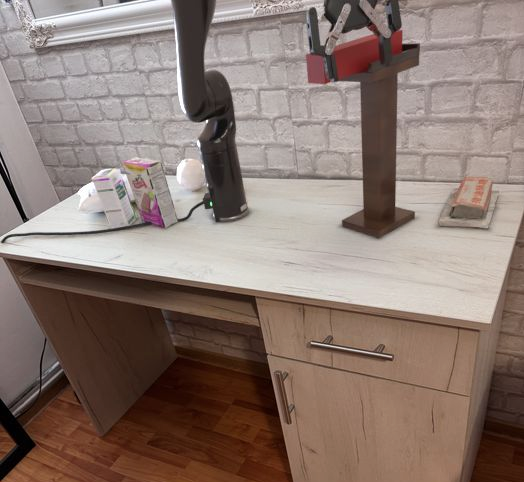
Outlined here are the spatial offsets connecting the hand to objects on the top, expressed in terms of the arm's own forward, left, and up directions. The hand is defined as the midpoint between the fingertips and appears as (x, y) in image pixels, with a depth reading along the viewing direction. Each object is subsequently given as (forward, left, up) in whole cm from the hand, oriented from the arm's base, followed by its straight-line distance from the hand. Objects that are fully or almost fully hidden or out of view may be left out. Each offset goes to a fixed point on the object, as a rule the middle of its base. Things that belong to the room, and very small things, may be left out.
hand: (360, 74), depth 76 cm
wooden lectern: (+9, +14, -33) cm, 38 cm away
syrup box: (-50, +51, -34) cm, 79 cm away
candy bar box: (-40, +46, -34) cm, 70 cm away
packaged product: (+28, +9, -34) cm, 45 cm away
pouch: (-53, +68, -34) cm, 93 cm away
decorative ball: (-29, +65, -34) cm, 79 cm away
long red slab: (+4, +12, -1) cm, 13 cm away
